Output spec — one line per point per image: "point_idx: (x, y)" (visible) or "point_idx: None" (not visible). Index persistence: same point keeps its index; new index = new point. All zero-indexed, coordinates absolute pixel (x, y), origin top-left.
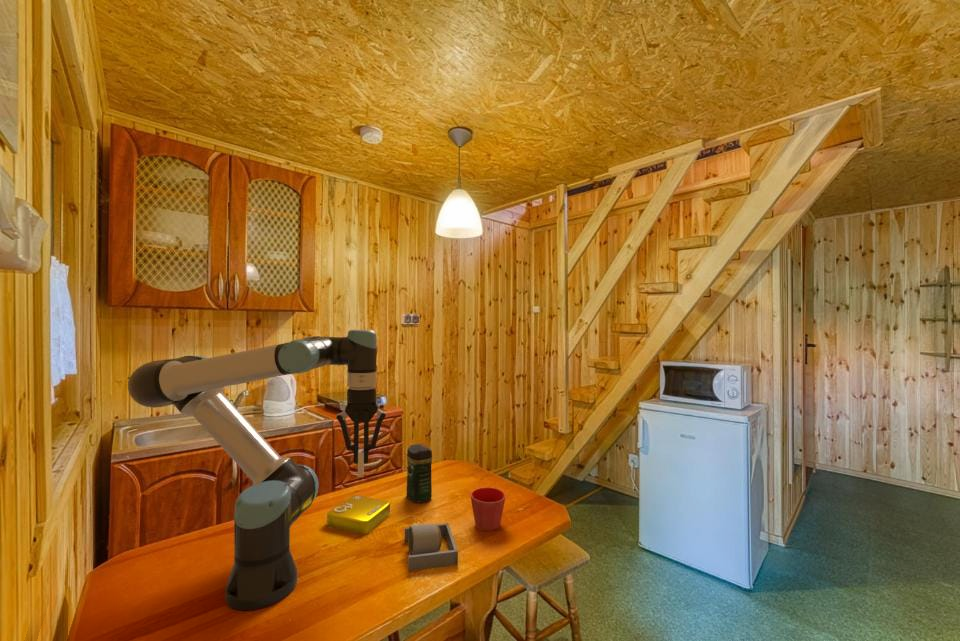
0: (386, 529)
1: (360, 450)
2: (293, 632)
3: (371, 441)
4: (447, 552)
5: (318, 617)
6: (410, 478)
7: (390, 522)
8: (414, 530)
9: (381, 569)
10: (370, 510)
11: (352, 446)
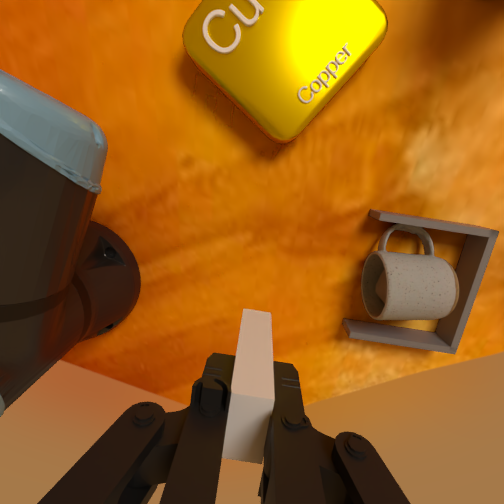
0: (341, 139)
1: (242, 419)
2: (150, 392)
3: (346, 471)
4: (432, 349)
5: (182, 377)
6: None
7: (361, 102)
8: (389, 310)
9: (294, 299)
10: (313, 72)
11: (166, 480)
